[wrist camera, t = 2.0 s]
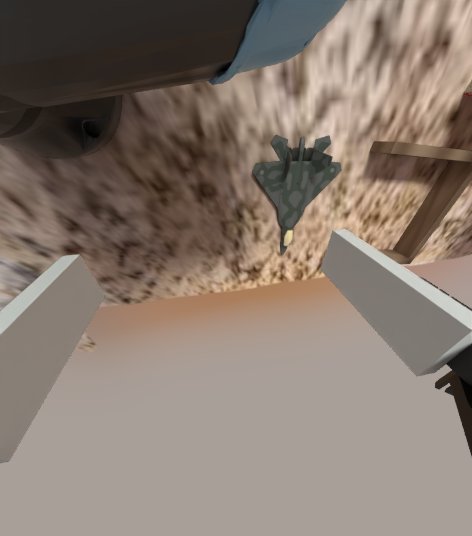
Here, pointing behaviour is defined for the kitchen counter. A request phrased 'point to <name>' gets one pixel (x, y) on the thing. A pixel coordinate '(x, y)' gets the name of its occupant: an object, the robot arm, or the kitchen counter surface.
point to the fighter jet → (295, 180)
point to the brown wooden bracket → (439, 199)
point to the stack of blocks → (469, 89)
